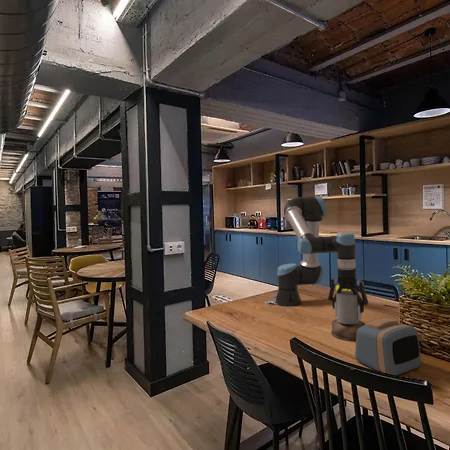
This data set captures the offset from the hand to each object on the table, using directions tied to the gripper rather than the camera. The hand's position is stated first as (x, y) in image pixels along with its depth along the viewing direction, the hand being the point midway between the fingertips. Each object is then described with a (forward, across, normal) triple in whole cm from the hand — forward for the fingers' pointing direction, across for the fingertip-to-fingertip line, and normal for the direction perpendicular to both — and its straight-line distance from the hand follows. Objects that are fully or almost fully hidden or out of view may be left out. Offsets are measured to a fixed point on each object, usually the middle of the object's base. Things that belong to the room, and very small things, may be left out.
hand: (348, 317), depth 147 cm
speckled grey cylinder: (+1, 0, 0) cm, 1 cm away
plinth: (+7, 0, 0) cm, 7 cm away
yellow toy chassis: (+8, -20, +59) cm, 63 cm away
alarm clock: (+8, +20, -21) cm, 30 cm away
